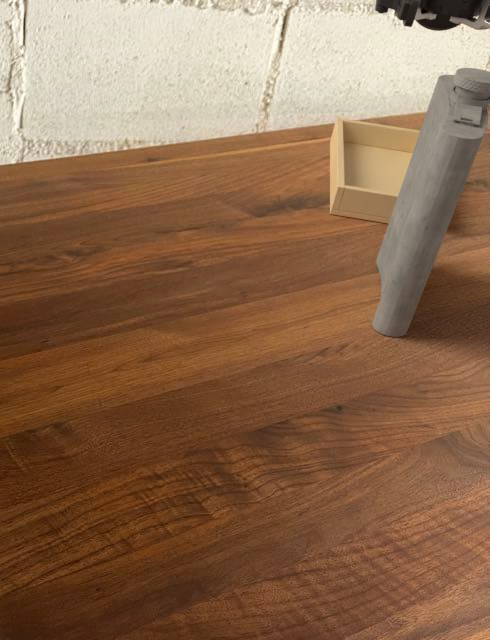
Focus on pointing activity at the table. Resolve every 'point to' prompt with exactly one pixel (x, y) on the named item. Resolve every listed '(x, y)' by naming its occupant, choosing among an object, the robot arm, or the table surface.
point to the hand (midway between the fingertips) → (458, 22)
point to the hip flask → (430, 194)
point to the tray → (368, 168)
